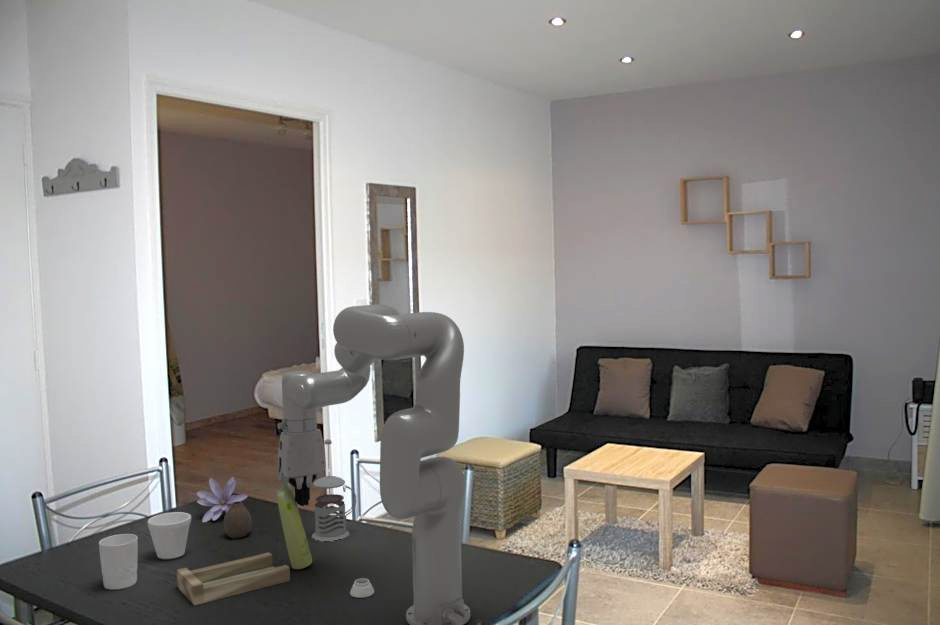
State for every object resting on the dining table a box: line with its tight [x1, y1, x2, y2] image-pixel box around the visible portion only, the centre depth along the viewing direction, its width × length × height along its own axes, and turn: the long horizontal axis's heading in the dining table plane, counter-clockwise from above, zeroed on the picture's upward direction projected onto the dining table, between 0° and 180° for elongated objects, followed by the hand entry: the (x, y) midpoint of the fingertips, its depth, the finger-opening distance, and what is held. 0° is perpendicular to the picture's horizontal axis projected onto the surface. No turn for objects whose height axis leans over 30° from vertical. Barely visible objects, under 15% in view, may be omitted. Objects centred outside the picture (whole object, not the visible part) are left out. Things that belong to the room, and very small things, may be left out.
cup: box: [147, 511, 192, 561], centre depth 199 cm, size 10×10×9 cm
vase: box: [223, 501, 252, 539], centre depth 212 cm, size 7×7×9 cm
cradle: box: [176, 552, 291, 606], centre depth 180 cm, size 12×21×4 cm, turn 125°
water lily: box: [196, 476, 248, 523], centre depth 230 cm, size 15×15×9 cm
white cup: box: [98, 533, 139, 590], centre depth 182 cm, size 8×8×10 cm
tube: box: [276, 483, 313, 570], centre depth 188 cm, size 6×5×20 cm
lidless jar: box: [349, 577, 375, 599], centre depth 174 cm, size 5×3×5 cm
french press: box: [311, 438, 357, 542], centre depth 211 cm, size 10×12×25 cm
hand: (302, 504), depth 189 cm, fingers closed
